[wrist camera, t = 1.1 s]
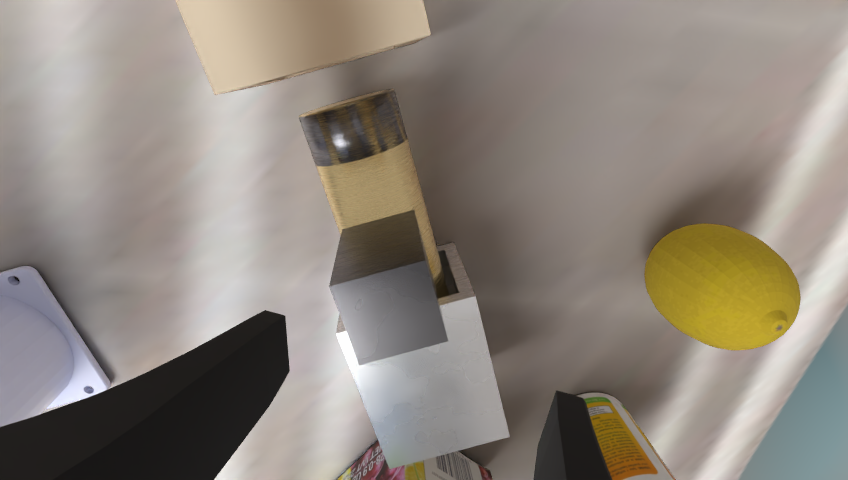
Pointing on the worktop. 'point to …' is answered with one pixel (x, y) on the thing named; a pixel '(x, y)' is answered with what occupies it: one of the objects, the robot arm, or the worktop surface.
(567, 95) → the worktop surface
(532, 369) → the worktop surface
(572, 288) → the worktop surface
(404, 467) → the snack box
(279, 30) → the socket block
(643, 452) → the supplement bottle
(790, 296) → the lemon
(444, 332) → the tube
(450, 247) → the sleeve
